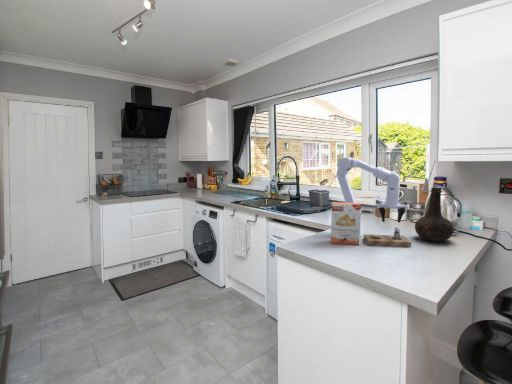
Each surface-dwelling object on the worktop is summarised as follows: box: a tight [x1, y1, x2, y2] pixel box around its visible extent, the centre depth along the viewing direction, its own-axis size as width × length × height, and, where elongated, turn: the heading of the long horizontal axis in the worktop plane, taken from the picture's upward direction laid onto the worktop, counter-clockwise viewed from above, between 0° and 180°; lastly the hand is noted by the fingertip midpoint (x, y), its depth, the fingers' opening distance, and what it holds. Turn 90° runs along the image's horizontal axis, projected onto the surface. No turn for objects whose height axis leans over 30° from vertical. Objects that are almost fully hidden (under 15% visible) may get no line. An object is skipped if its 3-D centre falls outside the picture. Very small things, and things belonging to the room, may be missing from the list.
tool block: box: [362, 233, 412, 248], centre depth 149 cm, size 20×12×2 cm, turn 81°
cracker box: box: [330, 201, 362, 246], centre depth 148 cm, size 14×6×21 cm, turn 76°
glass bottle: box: [414, 186, 455, 243], centre depth 152 cm, size 18×18×28 cm
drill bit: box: [393, 227, 401, 240], centre depth 148 cm, size 3×3×8 cm
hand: (391, 221), depth 153 cm, fingers open, 7 cm apart
